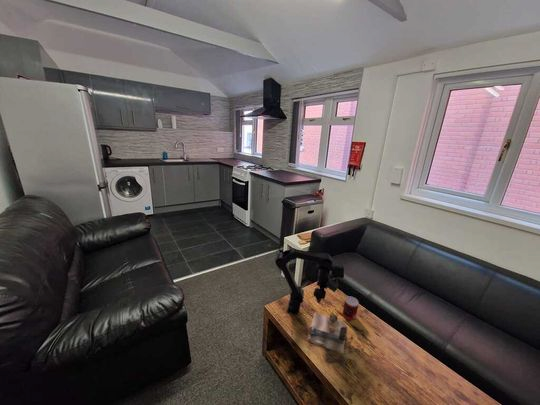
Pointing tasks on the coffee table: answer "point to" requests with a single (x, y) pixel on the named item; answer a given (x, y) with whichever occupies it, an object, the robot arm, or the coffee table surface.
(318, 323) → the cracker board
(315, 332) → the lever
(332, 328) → the terracotta cube
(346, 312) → the canned food
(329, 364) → the coffee table surface
